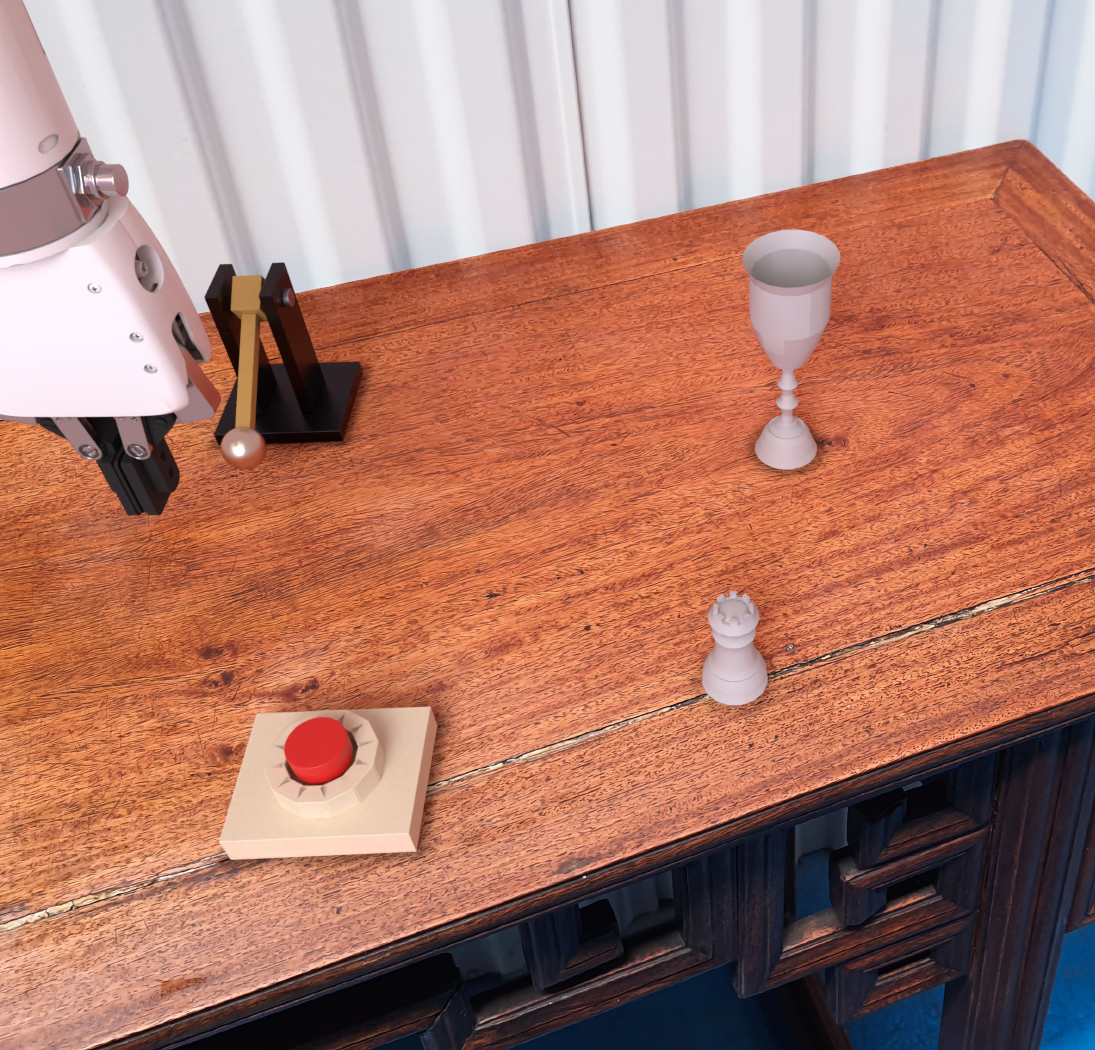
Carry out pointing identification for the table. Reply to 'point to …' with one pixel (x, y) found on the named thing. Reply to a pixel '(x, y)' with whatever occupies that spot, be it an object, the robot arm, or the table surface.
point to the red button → (319, 750)
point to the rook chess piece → (734, 652)
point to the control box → (333, 788)
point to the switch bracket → (284, 368)
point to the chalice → (789, 327)
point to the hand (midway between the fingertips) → (154, 496)
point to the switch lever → (246, 376)
